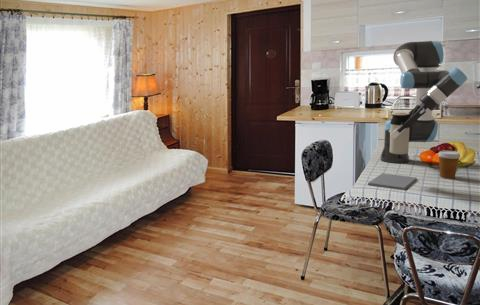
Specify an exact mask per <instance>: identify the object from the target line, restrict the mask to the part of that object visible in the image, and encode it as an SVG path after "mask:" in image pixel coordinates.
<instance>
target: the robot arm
mask: <svg viewBox="0 0 480 305" xmlns="http://www.w3.org/2000/svg"><path fill="white" fill-rule="evenodd" d="M392 56H393V61H394V64H395V65H396V66H397V67H398V68H399V70H400V73H401V74H400V81H399V82H400V88H401V89H403V90H404V89H406V90H412V89H414V90H416V94H415V106H414V107H413V108H412V109H411V110H409V112H408V113H410V114H409V117H408V119H407V120H406V121H405V122H404V123H403V122H402V123H401V125H400V126H399V127H398V128H397V129H395V130H394V131H393V132H392V133H391V134H390V128H391V119H389V120H387V121H386V122H385V124H384V142H383V143H384V145H383V149H382V151H381V154H380V161H382V162H385V163H393V164H394V163H395V164H402V163H408V162H409V161H410V156H409V152H408V153H407V154H393V153H391V152H390V135H391V136H392V137H393V138H394V139H395V138H396V137H397V136H398V135H400V134H401V133H402V132H403V131H404V130H405V129H406V128H409V127H410V129H409V143H431V142H434V140H435V139H436V137H437V134H438V125H439V124H438V121H436V120H435V119H436V118H435V117H434V116H433V111H434V110H435V109H436V108H437V107H438V105H439V104H442V103H443V102H446V99H447V98H448V97H450V96H451V95H452V94H454V92H455V91H457V90H458V89H459V88H460V87H462V86H463V85H464V83H466V81H467V80H468V77H467V75H466V74H465V73H464V72H463V71H462V70H461V69H460V68H458V67H453V68H452V69H450V70H449V71H448V70H446V69H445V70H437V69H439V66H440V64H443V62H444V56H445V55H444V48H443V45H442V43H441V41H437V40H427V41H408V42H404V43H402V44H401V45H399V46H398V47H397V48H396V49H395V51H394V52H393V55H392Z"/></svg>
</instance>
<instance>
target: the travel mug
mask: <svg viewBox="0 0 480 305" xmlns="http://www.w3.org/2000/svg"><path fill="white" fill-rule="evenodd" d="M409 114H410V113H409V112H405V111H403V112H402V111H399V112H398V111H396V112H391V116H392V118H391V119H390V120H391V128H390V134H391V133H392V132H393V131H394V130H395V129H397V128H398V127H399V126H400V125H401V123H402V122H403V123H404V122H405V121H406V120H407V119H408V117H409ZM409 129H410V127H409V128H406V129H405V130H404V131H403V132H402V133H401V134H400V135H398V136H397V137H396V138H395V139H394V138H393V137H392V136H391V135H390V152H391V153H393V154H407V153H408V154H409V146H410V145H409V144H410V142H409Z"/></svg>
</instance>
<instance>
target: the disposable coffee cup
mask: <svg viewBox="0 0 480 305" xmlns="http://www.w3.org/2000/svg"><path fill="white" fill-rule="evenodd" d="M437 156H438V161H439V162H438V163H439V165H438V166H439V177H440V178H443V179H449V180H450V179H455V177H456V174H457V168H458V164H459V159H460V157H461V155H460V152H459V151H456V150H440V151H439V152H438V154H437Z"/></svg>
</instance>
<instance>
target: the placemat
mask: <svg viewBox="0 0 480 305" xmlns="http://www.w3.org/2000/svg"><path fill="white" fill-rule="evenodd" d="M416 181H417V177H415V176H408V175H401V174H400V175H399V174H398V175H397V174H392V173H383V172H382V173H380V174H379V175H378V176H376V177H375V178H373V179H372V180H370V181H368V183H367V185H368V186H374V187H379V188H387V189H394V190H402V191H405V190H406V189H407V188H408V187H410V186H411V185H413V183H415V182H416Z"/></svg>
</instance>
